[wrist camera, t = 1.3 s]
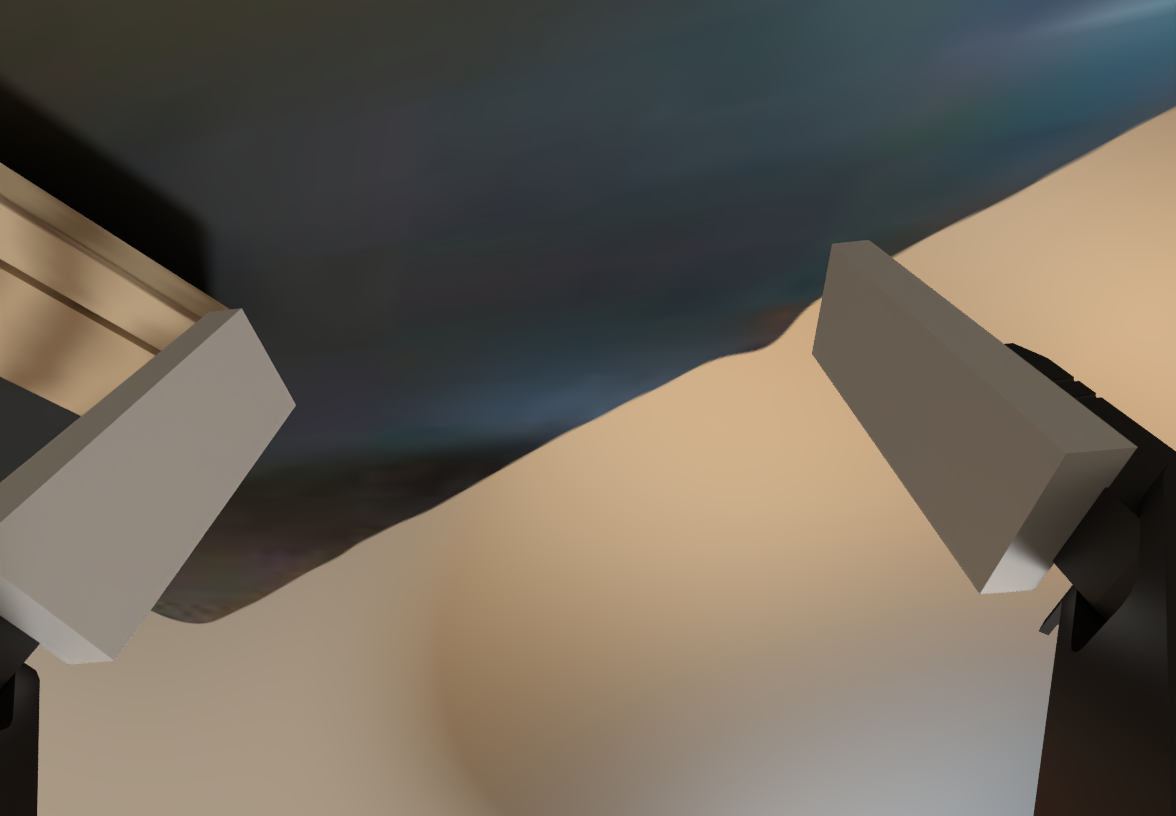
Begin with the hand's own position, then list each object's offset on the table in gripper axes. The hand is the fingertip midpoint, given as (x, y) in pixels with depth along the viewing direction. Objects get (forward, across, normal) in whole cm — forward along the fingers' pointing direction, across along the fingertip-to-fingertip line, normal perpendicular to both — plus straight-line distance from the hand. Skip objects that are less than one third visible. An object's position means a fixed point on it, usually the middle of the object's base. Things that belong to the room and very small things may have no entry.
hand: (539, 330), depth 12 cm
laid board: (+24, -39, -9) cm, 47 cm away
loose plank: (+22, -31, -3) cm, 38 cm away
